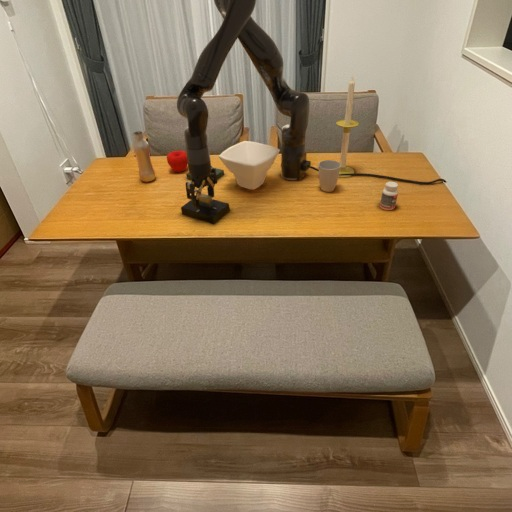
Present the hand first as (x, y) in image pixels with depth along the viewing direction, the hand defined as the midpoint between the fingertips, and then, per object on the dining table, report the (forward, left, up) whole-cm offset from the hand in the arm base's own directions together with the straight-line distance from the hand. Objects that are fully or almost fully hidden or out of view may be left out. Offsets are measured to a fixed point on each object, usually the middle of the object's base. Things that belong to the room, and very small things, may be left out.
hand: (204, 202), depth 136 cm
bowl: (-4, -25, -5) cm, 26 cm away
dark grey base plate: (+17, -23, -5) cm, 29 cm away
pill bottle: (-56, -33, -5) cm, 65 cm away
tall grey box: (0, 0, -1) cm, 1 cm away
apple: (+31, -23, -5) cm, 39 cm away
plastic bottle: (+37, -10, -5) cm, 39 cm away
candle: (-32, -52, -5) cm, 61 cm away
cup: (-32, -36, -5) cm, 48 cm away
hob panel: (0, 0, -5) cm, 5 cm away
